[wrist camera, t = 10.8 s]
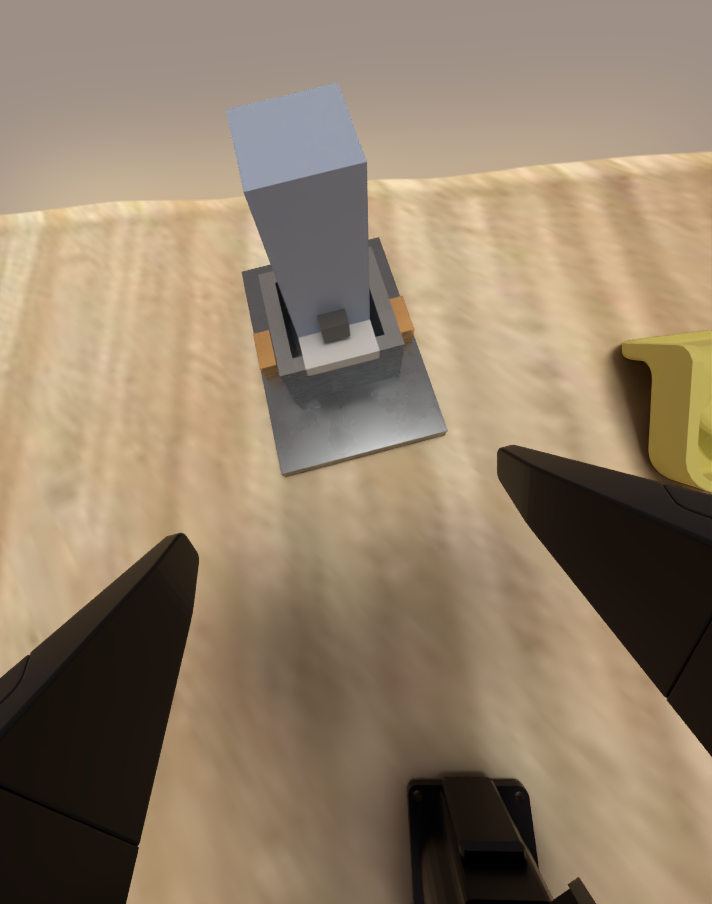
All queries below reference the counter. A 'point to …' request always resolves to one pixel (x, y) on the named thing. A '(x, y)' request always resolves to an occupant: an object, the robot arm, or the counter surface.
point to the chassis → (342, 380)
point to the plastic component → (679, 404)
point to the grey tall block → (311, 218)
